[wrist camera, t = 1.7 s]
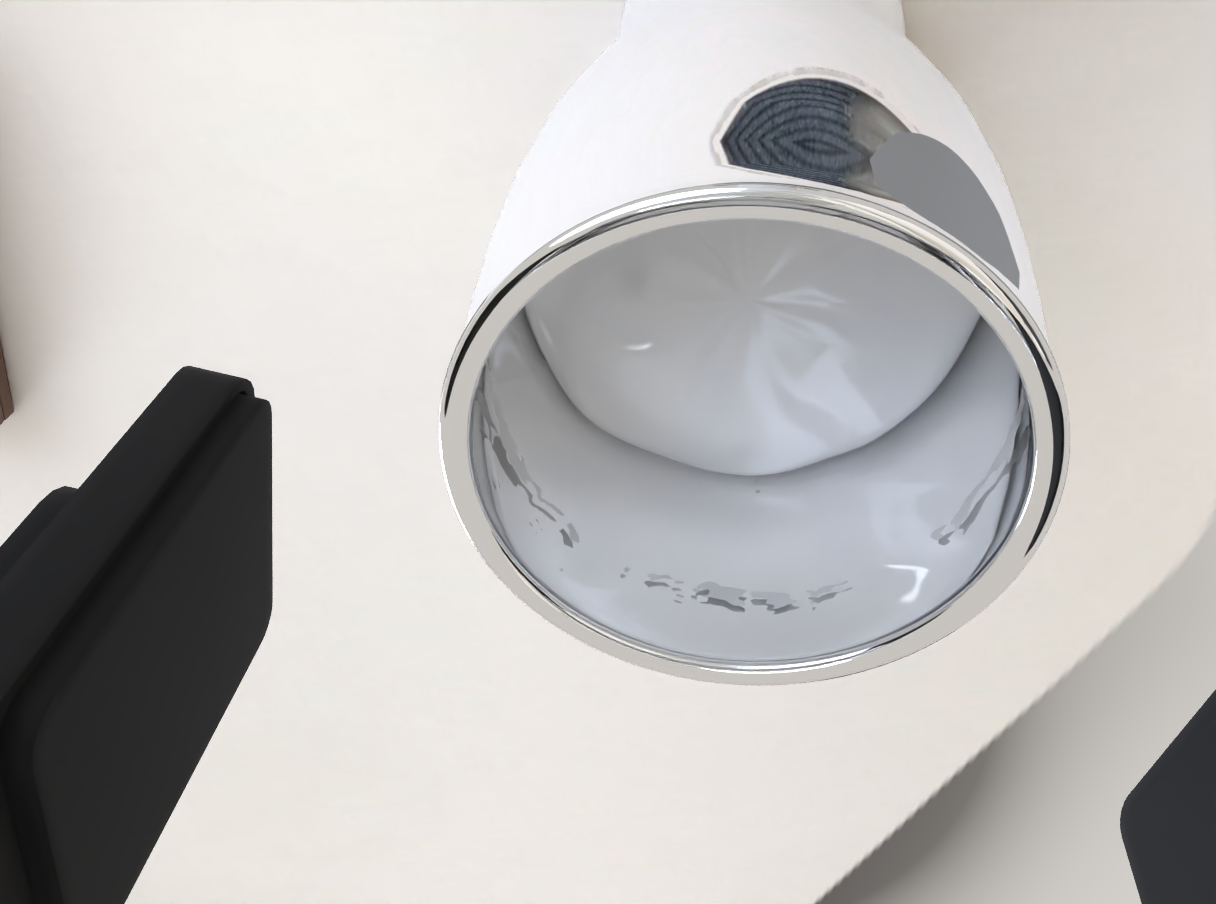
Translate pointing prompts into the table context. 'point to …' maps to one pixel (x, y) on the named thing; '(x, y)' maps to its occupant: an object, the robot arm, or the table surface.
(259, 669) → the table surface
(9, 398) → the tray
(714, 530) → the beer glass
